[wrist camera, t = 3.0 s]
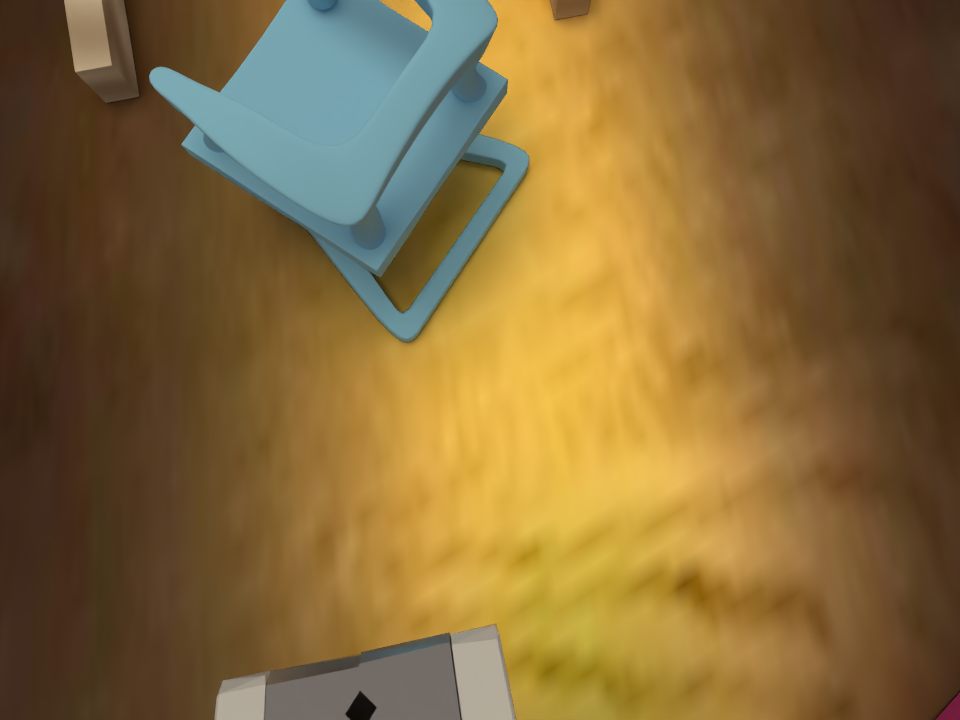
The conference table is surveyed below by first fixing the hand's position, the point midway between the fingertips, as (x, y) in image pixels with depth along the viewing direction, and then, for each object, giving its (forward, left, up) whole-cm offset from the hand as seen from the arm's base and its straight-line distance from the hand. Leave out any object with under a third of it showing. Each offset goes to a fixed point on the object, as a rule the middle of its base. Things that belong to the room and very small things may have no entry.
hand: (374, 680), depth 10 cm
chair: (+8, -9, -21) cm, 24 cm away
